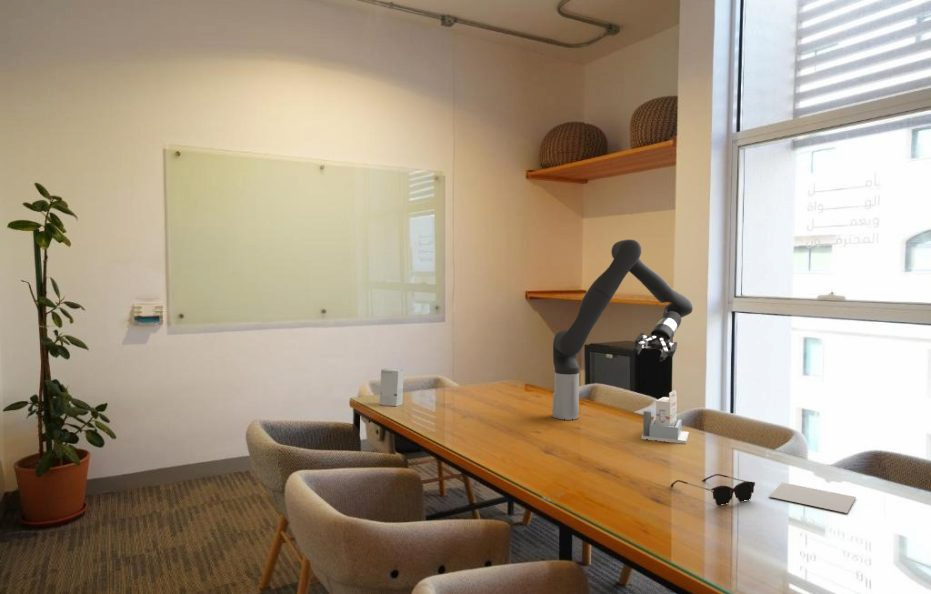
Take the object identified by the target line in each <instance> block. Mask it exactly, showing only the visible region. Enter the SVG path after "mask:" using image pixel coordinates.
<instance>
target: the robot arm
mask: <svg viewBox="0 0 931 594" xmlns="http://www.w3.org/2000/svg"><path fill="white" fill-rule="evenodd" d="M610 251H611V252H610V253H611V257H612V259H613V260H612V261H611V264H610V265H609V266H608V267H607V268H606V269H605V271H603V272H602V273H601V274H600V275H599V276H598V277H597V278H596V279H595V280H594V281H593V282H592V284H591V285H590V287H589V288H588V289H587V291H586V292H585V294H584V296H583V298H582V300H581V303H580V306H579V310H578V312H577V316H576V318H575V319H574V321H573V323H572V324H571V325H570V327H569V328H568V330H560V331H558V332H557V333H556V334H555V336H554V338H553V341H552V343H553V344H552V356H553V357H552V359H553V366H554V392H553V393H552V418H553V417H554V419H558V420H564V419H565V420H566V421H567V420H568V421H570V420H571V421H573V420H577V418H578V419H579V413H580V412H579V404H580V401H579V400H580V366H579V363H578V360H577V355H578V354H579V353H580V352H581V351H582V348H583V347H584V345H585V343H586V341H587V339H588V337H589V335H590V333H591V331H592V329H593V328H594V327H595V325H596V323H597V322H598V320H599V319H600V317H601V316H602V314H603V312H604V311H605V309H606V308H607V306H608V305H609V304H610V302H611V301H612V300H613V299H612V298H613V297H614V295H615V293H616V292H617V290H618V288H619V287H620V285H621V283H622V282H623V280H624V279H625V277H626V276H627V275H628V273H631V274H632V276H634V277H635V278H636V279H637V280H638V281H639V282H640V283H641V284H642V285H643V286H644V287H645V288H646V289H647V290H648V291H649V292H650V293H651V295H652V296H653V297H654V298H655V299H656V300H657V301H658V302H660V303H662V304H663V303H668V304H667V305H666V306H665V307H664V309H663V314H662V315H663V316H662V317H661V318H660V320H659V321H658V322H657V323H656V324H655V326H654V328H653V329H652V330H651V332H650V334H649V335H645V333H644V332H641V333H640V334H638V336H637V337H636V338H635V340H634V346H635V347H636V348H635V353H636V355H640V353H641V352H642V350H643V349H649V348H651V349H655V350H658V351H659V350H660V351H661V354H660V355H659V362H662V361H665V360H666V358H667V357H668V356H669V357H670V358H672V357H674V355H675V353H676V351H677V347H678V342H677V341H674V342H673V343H672V342H671V341H672V340H673V338H674V337H675V335H676V333H677V330H678V329H679V328H680V325H681V324H682V318H684V317H686V316H689V315H690V314H691V313H692V312H693V304H692V303H691V301H690V300H689V298H688V297H686V296H684V295H683V294H681V293H679V292H678V291H677V290H675V289H673V288H672V286H670V284H668V282H666V280H665V279H664V278H663V277H661V276H660V274H658V273H656V271H654V270H653V269H651V268H650V267H649V266H647V265H646V264H645V263H644V262H643V261H642V260H641V259H640V257H641V255H642V245H641V244H640V243H639V242H638V241H637V240H636V239H624V240H619V241H617V242H615V243H614V244H613V246H612V247H611V250H610ZM669 347H670V349H668V348H669ZM572 419H573V420H572Z"/></svg>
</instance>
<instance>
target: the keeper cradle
mask: <svg viewBox="0 0 931 594" xmlns="http://www.w3.org/2000/svg"><path fill="white" fill-rule="evenodd" d="M642 418H643V419H642V421H643V422H642V425H643V427H642V434H641V440H646V439H648V440H649V441H655V440H657V442H664V441H665V442H666V443H673V442H674V443H675V444H676V443H677V444H681V445H682V444H684V445H686V444H687V442H688V441H687V440H688V438H689V435H690V431H684V430H682V422H683V421H682V419H680V418H679V419H677V421H676V426H675V427H672V426H662V425H656V416H654V418H653V419H652V412H651V411H649V410H644V411H643V417H642ZM674 443H673V444H674Z"/></svg>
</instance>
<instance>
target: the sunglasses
mask: <svg viewBox="0 0 931 594" xmlns="http://www.w3.org/2000/svg"><path fill="white" fill-rule="evenodd" d="M716 476H720V477H722V478H728V479H732V480H734V481H735V480H736V481H739V482H740V483H738V484H736V485H735V486H734V487H733V488H732V487H731V486H727V485H718V486H715V487H712V488H709V487H703V486H700V485H697V484H693V483H689V482H688V481H687V482H686V481H684V480H680V479H678V480H675V481H673V482H672V483H671V484H670V487H671V488H672V487H674V485H675V484H676V483H678V482H679V483H683V484H686V485H690V486H693V487H696V488H699V489H703V490H706V491H709V492H711V493H712V498H713V500H714V501H715V504H716V506H717V505H721V504H726V503H729V504H730V502H731V500H732V499H733V495H735V496H734V497H735V498H736V499H737V500H738V502H739V501H744V500H749V499H750V500H752V496H753V495H752V494H754V491H755V489H754V487H755V486H756V482H755V481H748V480H743V479H739V478H736V477H733V476H729V475H725V474H721V473H715V474H712V475H710V476H708V477H706V478H703V479H701V482H703V481H705V482H706V481H707V480H709V479H711V478H713V477H716ZM744 502H745V501H744Z"/></svg>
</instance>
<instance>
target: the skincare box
mask: <svg viewBox="0 0 931 594" xmlns="http://www.w3.org/2000/svg"><path fill="white" fill-rule="evenodd" d="M380 372H381V373H380V386H379V387H380V389H379V406H390V407H391V406H392V407H398V406H401V405H403V399H404V398H403V397H404V396H403V394H404V379H405V378H404V376H405V374H404V373H405V369H399V368H391V367H389V368H388V367H386V368H381V369H380Z"/></svg>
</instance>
